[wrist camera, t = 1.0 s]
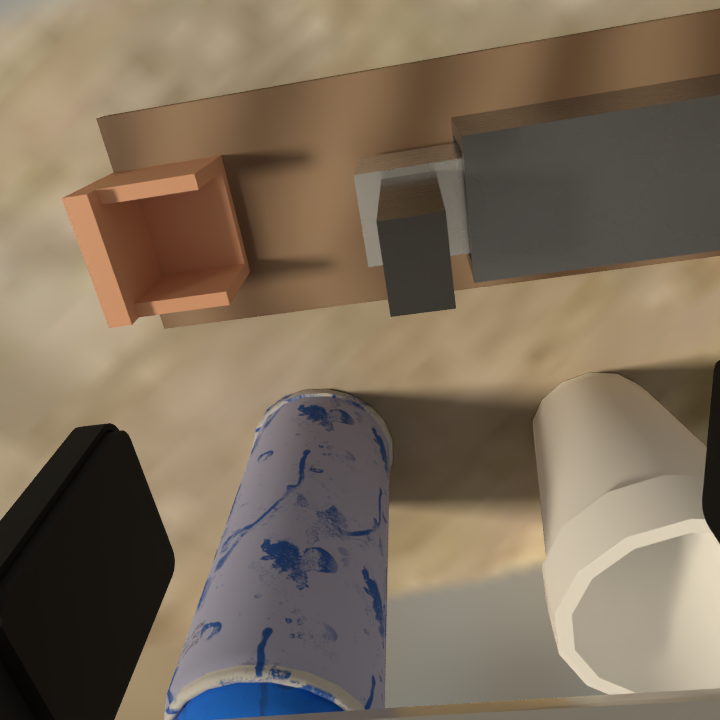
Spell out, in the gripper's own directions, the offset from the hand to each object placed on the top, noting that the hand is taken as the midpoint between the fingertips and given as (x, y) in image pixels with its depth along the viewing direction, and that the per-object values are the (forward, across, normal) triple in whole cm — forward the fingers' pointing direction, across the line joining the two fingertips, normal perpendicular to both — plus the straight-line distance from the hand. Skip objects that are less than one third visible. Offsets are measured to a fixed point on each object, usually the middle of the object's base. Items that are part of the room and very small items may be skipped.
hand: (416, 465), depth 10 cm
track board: (+21, -2, 0) cm, 21 cm away
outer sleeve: (+20, -8, 0) cm, 22 cm away
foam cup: (+22, -8, +14) cm, 27 cm away
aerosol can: (+22, +6, +14) cm, 26 cm away
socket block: (+20, +10, 0) cm, 23 cm away
